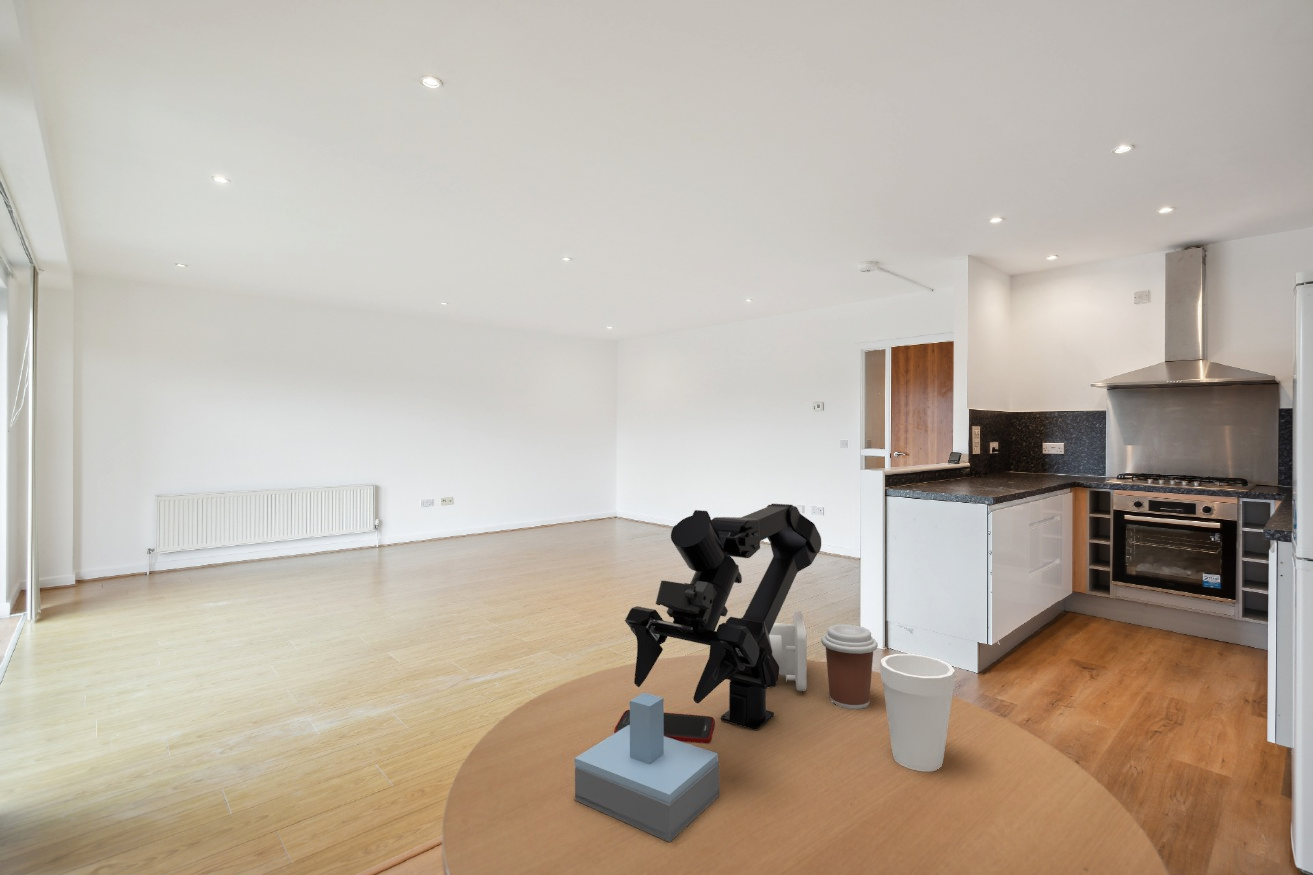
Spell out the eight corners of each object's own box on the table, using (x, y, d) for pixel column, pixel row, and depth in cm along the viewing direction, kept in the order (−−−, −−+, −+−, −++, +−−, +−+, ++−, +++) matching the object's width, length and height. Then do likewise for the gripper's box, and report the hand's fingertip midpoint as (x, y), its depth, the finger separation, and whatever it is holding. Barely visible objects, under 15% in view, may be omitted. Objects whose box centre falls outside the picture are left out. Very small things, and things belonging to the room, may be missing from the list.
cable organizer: (807, 699, 106) (807, 631, 106) (745, 695, 108) (744, 628, 108) (802, 668, 121) (802, 608, 121) (747, 665, 123) (747, 606, 123)
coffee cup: (876, 693, 109) (875, 624, 109) (879, 715, 100) (879, 640, 100) (822, 687, 111) (821, 620, 111) (821, 708, 103) (820, 635, 103)
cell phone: (625, 715, 101) (625, 708, 101) (715, 722, 98) (715, 716, 98) (612, 737, 94) (612, 730, 94) (710, 746, 91) (710, 739, 91)
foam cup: (954, 751, 88) (954, 659, 88) (955, 784, 80) (955, 682, 80) (883, 738, 92) (883, 650, 92) (877, 767, 84) (877, 671, 84)
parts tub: (629, 762, 85) (629, 733, 85) (719, 795, 77) (719, 763, 77) (575, 800, 76) (575, 767, 76) (669, 842, 68) (669, 805, 68)
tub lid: (628, 731, 86) (628, 673, 86) (718, 761, 78) (717, 697, 78) (574, 766, 77) (574, 701, 77) (669, 803, 69) (669, 730, 69)
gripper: (633, 550, 90) (581, 646, 81) (749, 564, 79) (704, 677, 70) (663, 594, 96) (618, 688, 87) (775, 613, 86) (737, 722, 77)
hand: (665, 693), depth 80 cm, fingers open, 9 cm apart
